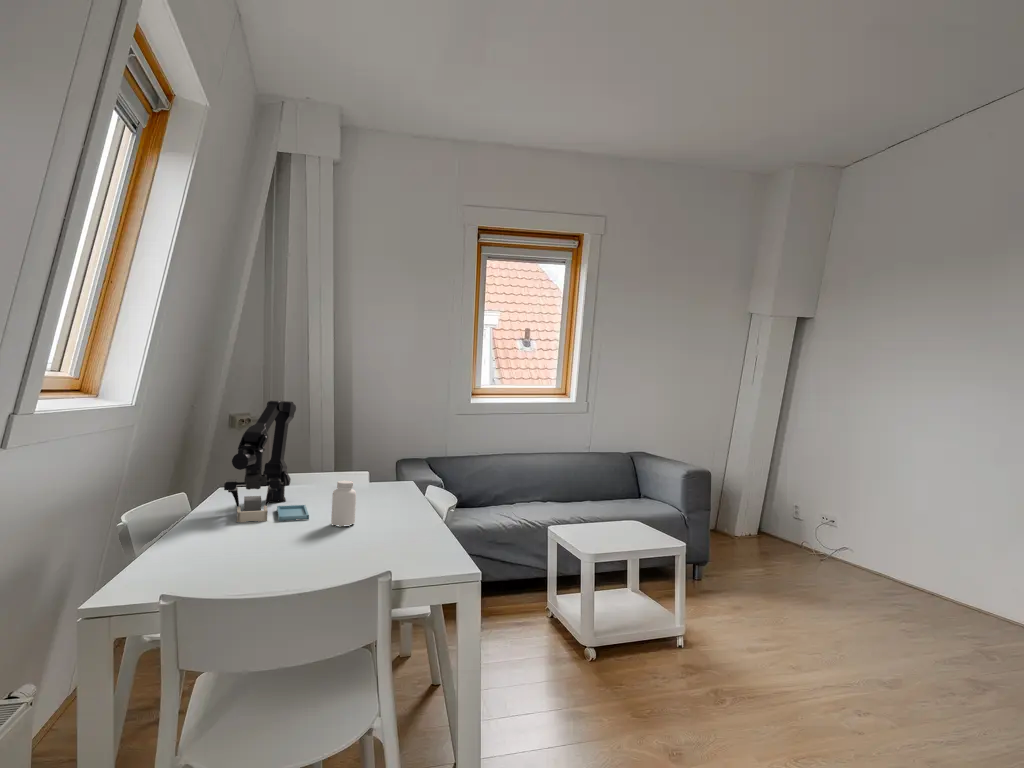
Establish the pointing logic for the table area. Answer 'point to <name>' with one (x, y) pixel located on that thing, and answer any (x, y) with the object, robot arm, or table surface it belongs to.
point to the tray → (292, 512)
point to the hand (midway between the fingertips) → (252, 507)
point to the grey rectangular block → (252, 503)
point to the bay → (251, 515)
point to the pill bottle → (343, 504)
